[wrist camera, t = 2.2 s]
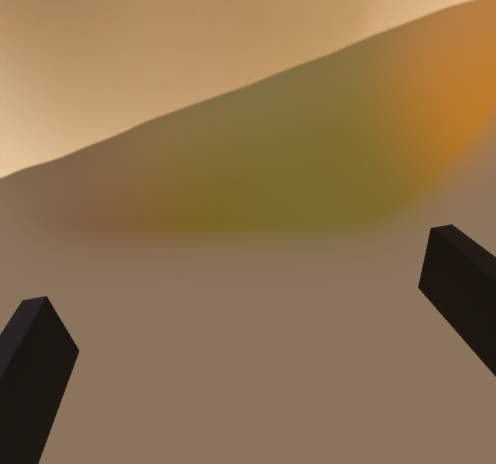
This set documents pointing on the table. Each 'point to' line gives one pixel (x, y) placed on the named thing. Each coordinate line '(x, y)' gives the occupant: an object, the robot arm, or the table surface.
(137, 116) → the table surface
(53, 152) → the table surface
